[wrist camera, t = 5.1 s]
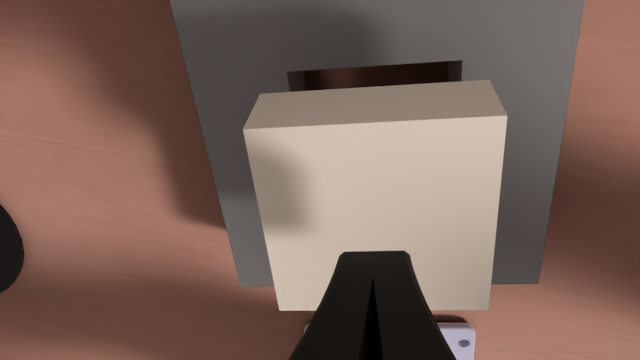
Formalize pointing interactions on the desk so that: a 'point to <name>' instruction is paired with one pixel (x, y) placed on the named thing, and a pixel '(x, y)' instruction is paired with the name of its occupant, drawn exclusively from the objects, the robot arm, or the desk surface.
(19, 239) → the webcam
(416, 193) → the cap
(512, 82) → the panel
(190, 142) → the desk surface
